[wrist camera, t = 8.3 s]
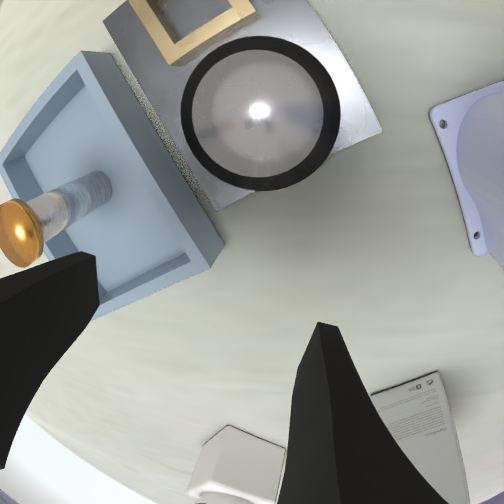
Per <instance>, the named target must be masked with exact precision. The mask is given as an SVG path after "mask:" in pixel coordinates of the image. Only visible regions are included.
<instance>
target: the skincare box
mask: <svg viewBox="0 0 504 504" xmlns="http://www.w3.org/2000/svg"><path fill="white" fill-rule="evenodd" d="M370 399H371V401H372V403H373V405H374V406H375V408H376V410H377V412H378V414H379V416H380V417H381V419H382V421H383V422H384V424H385V425H386V427H387V429H388V430H389V432H390V433H391V435H392V436H393V438H394V439H395V441H396V442H397V444H398V445H399V447H400V448H401V449H402V451H403V452H404V453H405V455H406V456H407V457H408V459H409V460H410V461H411V462H412V464H413V465H414V466H415V468H416V469H417V470H418V471H419V473H420V474H421V475H422V476H423V477H424V478H425V479H426V481H427V482H428V483H429V484H430V485H431V486H432V487H433V488H434V489H435V490H436V491H437V492H438V493H439V494H440V496H441V497H442V498H443V499H444V500H445V501H447V502H448V503H449V504H470V498H469V491H468V484H467V479H466V473H465V468H464V463H463V458H462V453H461V449H460V444H459V440H458V436H457V432H456V428H455V424H454V420H453V417H452V413H451V410H450V407H449V403H448V400H447V396H446V393H445V390H444V387H443V384H442V381H441V378H440V375H439V373H438V372H435V373H433V374H430V375H427V376H424V377H422V378H419V379H417V380H414V381H411V382H409V383H406V384H403V385H400V386H398V387H395V388H392V389H389V390H386V391H383V392H381V393H378V394H375V395H373V396H371V397H370Z"/></svg>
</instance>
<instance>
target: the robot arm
mask: <svg viewBox="0 0 504 504" xmlns="http://www.w3.org/2000/svg"><path fill="white" fill-rule="evenodd" d="M430 119H431V121H432V124H433V126H434V128H435V131H436V133H437V136H438V139H439V141H440V144H441V146H442V149H443V152H444V155H445V158H446V160H447V163H448V166H449V169H450V172H451V175H452V178H453V181H454V185H455V188H456V191H457V195H458V198H459V202H460V205H461V209H462V212H463V216H464V220H465V224H466V228H467V232H468V237H469V241H470V246H471V250H472V252H473V253H474V255H476V256H481V255H483V254H485V253H487V252H489V253H490V254H491V255H492V257H493V258H494V259H495V260H496V261H497V262H498V264H499V265H500V266H501V267H502V268H503V270H504V80H503V81H501V82H498V83H495V84H492V85H490V86H487V87H484V88H481V89H479V90H476V91H473V92H471V93H468V94H465V95H463V96H460V97H458V98H455V99H453V100H450V101H447V102H445V103H442V104H440V105H437V106H435V107H433V108H432V109H431V110H430ZM441 120H444V122H445V126H444V128H440V126H439V122H440V121H441ZM475 232H478V234H477V236H476V237H474V233H475ZM99 306H100V301H99V291H98V280H97V267H96V256H95V255H92V254H89V253H86V252H83V251H80V252H76V253H72V254H69V255H66V256H63V257H60V258H57V259H54V260H52V261H49V262H46V263H43V264H41V265H38V266H35V267H32V268H30V269H27V270H24V271H21V272H18V273H15V274H12V275H9V276H6V277H4V278H1V279H0V469H4V468H5V464H6V460H7V457H8V454H9V451H10V448H11V445H12V442H13V439H14V437H15V434H16V432H17V430H18V427H19V425H20V423H21V420H22V418H23V416H24V414H25V412H26V410H27V408H28V406H29V404H30V403H31V401H32V399H33V397H34V395H35V394H36V392H37V390H38V389H39V387H40V385H41V383H42V382H43V380H44V379H45V377H46V376H47V375H48V373H49V372H50V371H51V369H52V368H53V367H54V366H55V364H56V363H57V362H58V361H59V359H60V358H61V357H62V356H63V355H64V353H65V352H66V351H67V350H68V349H69V347H70V346H71V345H72V344H73V342H74V341H75V340H76V339H77V338H78V336H79V335H80V334H81V333H82V332H83V330H84V329H85V328H86V326H87V325H88V323H89V322H90V320H91V319H92V317H93V316H94V314H95V312H96V311H97V309H98V307H99ZM0 504H18V503H17V502H16V501H15V500H13V499H12V498H10V497H9V496H8V495H7V494H6V493H4V492H3V491H2V490H1V489H0ZM277 504H449V503H448V502H447V501H445V500H444V499H443V498H442V497H441V496H440V494H439V493H438V492H437V491H436V490H435V489H434V488H433V487H432V486H431V485H430V484H429V483H428V482H427V481H426V479H425V478H424V477H423V476H422V475H421V474H420V473H419V471H418V470H417V469H416V468H415V466H414V465H413V464H412V462H411V461H410V460H409V459H408V457H407V456H406V455H405V453H404V452H403V451H402V449H401V448H400V447H399V445H398V444H397V442H396V441H395V439H394V438H393V436H392V435H391V433H390V432H389V430H388V429H387V427H386V425H385V424H384V422H383V421H382V419H381V417H380V416H379V414H378V412H377V410H376V408H375V406H374V405H373V403H372V401H371V399H370V397H369V395H368V393H367V391H366V389H365V387H364V385H363V383H362V381H361V379H360V376H359V374H358V372H357V370H356V368H355V366H354V363H353V361H352V359H351V356H350V354H349V352H348V349H347V347H346V345H345V342H344V340H343V337H342V335H341V333H340V330H339V328H338V327H337V326H333V325H329V324H325V323H321V322H317V325H316V327H315V330H314V332H313V334H312V337H311V339H310V341H309V344H308V346H307V348H306V351H305V353H304V355H303V357H302V360H301V362H300V364H299V366H298V370H297V375H296V380H295V385H294V390H293V395H292V404H291V416H290V428H289V439H288V450H287V460H286V466H285V473H284V477H283V481H282V486H281V490H280V494H279V498H278V502H277Z"/></svg>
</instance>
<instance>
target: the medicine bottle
mask: <svg viewBox="0 0 504 504" xmlns="http://www.w3.org/2000/svg"><path fill="white" fill-rule="evenodd" d="M284 455H285V449H284V448H282V447H279V446H277V445H274V444H272V443H269V442H267V441H264V440H262V439H259V438H257V437H255V436H252V435H250V434H247V433H245V432H243V431H241V430H238V429H236V428H234V427H232V426H226V427H225V428H224V429H223V430H221V431H220V432H219V433H218V434H217V435H215V436H214V437H213V438H212V439H211V440H209V441H208V442H207V443H206V444H204V445H203V447H202V450H201V452H200V455H199V458H198V461H197V463H196V466H195V469H194V471H193V474H192V477H191V480H190V482H189V485H188V488H187V490H186V493H187V495H189V496H192V497H194V498H197V499H196V502H195V504H275V502H276V498H277V493H278V488H279V483H280V477H281V472H282V466H283V461H284Z"/></svg>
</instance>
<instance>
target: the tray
mask: <svg viewBox="0 0 504 504" xmlns="http://www.w3.org/2000/svg"><path fill="white" fill-rule="evenodd" d="M93 171H101V172H103V173H105V174H106V175H107V176H108V178H109V179H110V181H111V184H112V188H113V193H112V197H111V199H110V201H109V202H108V203H106V204H105V205H103V206H101V207H100V208H98V209H96V210H95V211H93V212H91V213H90V214H88V215H87V216H85V217H83V218H82V219H80V220H78V221H77V222H75V223H74V224H72V225H71V226H69V227H67V228H66V229H64V230H63V231H61V232H60V233H58V234H57V235H55V236H54V237H52V238H51V239H49V240H48V241H46V242H45V243H44V248H43V252H44V253H45V255H46V257H47V258H48V260H49V261H52V260H54V259H57V258H60V257H63V256H66V255H69V254H72V253H76V252H80V251H83V252H86V253H89V254H92V255H95V256H96V267H97V280H98V291H99V301H100V306H99V307H98V309H97V311H96V312H95V314H94V316H93V317H92V319H91V320H94V319H96V318H99V317H101V316H103V315H105V314H108V313H110V312H112V311H114V310H117V309H119V308H121V307H123V306H126V305H128V304H130V303H133V302H135V301H137V300H139V299H142V298H144V297H146V296H148V295H151V294H153V293H155V292H157V291H160V290H162V289H164V288H166V287H169V286H171V285H173V284H175V283H178V282H180V281H182V280H184V279H187V278H189V277H191V276H194V275H196V274H198V273H200V272H203V271H205V270H207V269H209V268H211V266H212V265H213V263H214V262H215V260H216V258H217V257H218V255H219V254H220V252H221V251H222V249H223V247H224V246H225V244H224V242H223V241H222V239H221V237H220V236H219V234H218V232H217V231H216V229H215V228H214V226H213V224H212V223H211V221H210V220H209V218H208V216H207V215H206V213H205V211H204V210H203V208H202V206H201V205H200V203H199V202H198V200H197V198H196V197H195V195H194V193H193V192H192V190H191V188H190V187H189V185H188V184H187V182H186V180H185V179H184V177H183V175H182V174H181V172H180V170H179V169H178V167H177V165H176V164H175V162H174V160H173V159H172V157H171V155H170V154H169V152H168V150H167V149H166V147H165V145H164V144H163V142H162V140H161V139H160V137H159V135H158V134H157V132H156V130H155V129H154V127H153V125H152V124H151V122H150V120H149V119H148V117H147V115H146V114H145V112H144V110H143V108H142V107H141V105H140V103H139V102H138V100H137V98H136V97H135V95H134V93H133V91H132V90H131V88H130V86H129V85H128V83H127V81H126V79H125V78H124V76H123V74H122V73H121V71H120V69H119V67H118V66H117V64H116V62H115V60H114V59H113V57H112V55H111V54H110V53H102V52H92V51H80V52H79V53H78V54H77V55H76V56H75V57H74V58H73V59H72V60H71V61H70V62H69V64H68V65H67V66H66V67H65V68H64V69H63V70H62V71H61V72H60V73H59V75H58V76H57V77H56V78H55V79H54V80H53V82H52V83H51V84H50V85H49V86H48V87H47V89H46V90H45V91H44V92H43V94H42V95H41V96H40V97H39V99H38V100H37V101H36V102H35V104H34V105H33V106H32V108H31V109H30V110H29V112H28V113H27V114H26V116H25V117H24V118H23V120H22V121H21V123H20V124H19V125H18V127H17V128H16V130H15V131H14V133H13V134H12V135H11V137H10V138H9V140H8V141H7V143H6V145H5V146H4V148H3V149H2V151H1V152H0V174H1V176H2V178H3V180H4V182H5V184H6V186H7V188H8V190H9V192H10V194H11V196H12V198H13V199H15V198H16V199H21V200H23V201H24V202H28V201H30V200H32V199H34V198H36V197H38V196H40V195H42V194H44V193H46V192H48V191H50V190H52V189H55V188H57V187H59V186H61V185H63V184H65V183H68V182H70V181H72V180H74V179H77V178H79V177H81V176H83V175H86V174H88V173H90V172H93Z"/></svg>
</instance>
